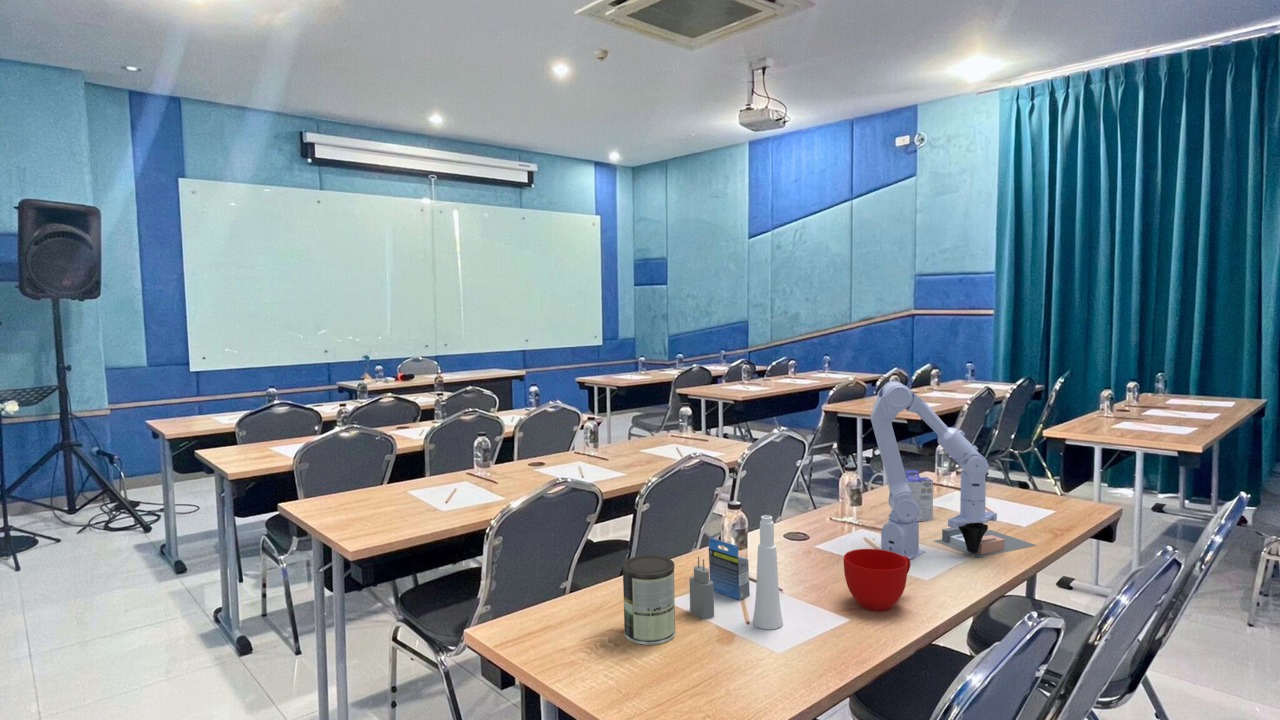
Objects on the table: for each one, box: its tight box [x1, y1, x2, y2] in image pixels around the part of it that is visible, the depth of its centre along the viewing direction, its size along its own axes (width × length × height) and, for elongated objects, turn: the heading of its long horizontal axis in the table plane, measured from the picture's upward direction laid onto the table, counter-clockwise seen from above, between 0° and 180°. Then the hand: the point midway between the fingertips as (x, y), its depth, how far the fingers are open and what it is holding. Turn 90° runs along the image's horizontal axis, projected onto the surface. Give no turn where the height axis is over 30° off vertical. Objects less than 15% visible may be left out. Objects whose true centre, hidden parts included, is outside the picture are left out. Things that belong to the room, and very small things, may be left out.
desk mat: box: [933, 529, 1038, 559], centre depth 186 cm, size 21×14×1 cm
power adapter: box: [689, 556, 715, 621], centre depth 147 cm, size 3×5×12 cm, turn 30°
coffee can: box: [621, 554, 676, 646], centre depth 138 cm, size 10×10×14 cm
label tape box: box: [708, 536, 751, 601], centre depth 157 cm, size 9×4×12 cm, turn 43°
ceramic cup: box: [843, 548, 911, 612], centre depth 151 cm, size 13×17×10 cm
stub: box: [977, 535, 1005, 554], centre depth 181 cm, size 8×4×3 cm, turn 113°
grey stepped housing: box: [941, 527, 984, 549], centre depth 186 cm, size 10×8×3 cm
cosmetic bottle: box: [752, 514, 784, 630], centre depth 141 cm, size 6×6×22 cm
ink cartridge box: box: [905, 469, 934, 522], centre depth 208 cm, size 10×6×14 cm, turn 89°
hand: (972, 551), depth 177 cm, fingers closed
